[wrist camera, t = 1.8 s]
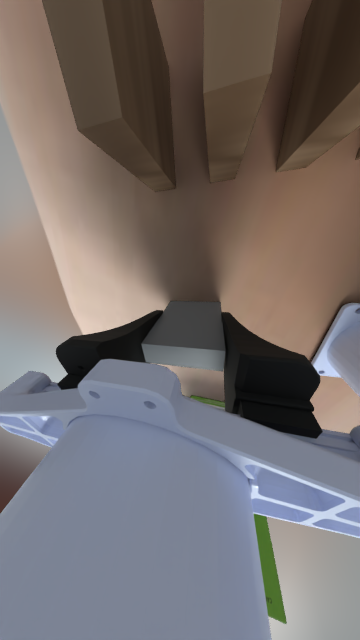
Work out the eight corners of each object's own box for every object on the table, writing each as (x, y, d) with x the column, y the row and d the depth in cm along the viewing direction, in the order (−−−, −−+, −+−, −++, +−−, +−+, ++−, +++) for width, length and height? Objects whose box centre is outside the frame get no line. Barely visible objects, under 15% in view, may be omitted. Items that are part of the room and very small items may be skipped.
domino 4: (168, 66, 8) (12, -530, 2) (175, 188, 10) (122, 117, 4) (141, 76, 8) (-68, -393, 2) (155, 191, 10) (78, 130, 5)
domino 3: (247, 38, 7) (474, -1323, 1) (234, 178, 9) (271, 72, 3) (213, 50, 7) (211, -870, 1) (210, 182, 10) (202, 93, 4)
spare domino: (170, 301, 15) (141, 343, 9) (220, 301, 14) (225, 351, 8) (172, 314, 15) (146, 362, 9) (219, 316, 14) (223, 371, 8)
